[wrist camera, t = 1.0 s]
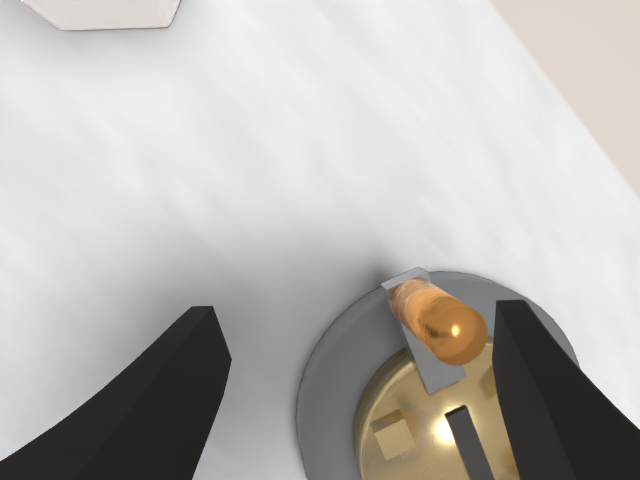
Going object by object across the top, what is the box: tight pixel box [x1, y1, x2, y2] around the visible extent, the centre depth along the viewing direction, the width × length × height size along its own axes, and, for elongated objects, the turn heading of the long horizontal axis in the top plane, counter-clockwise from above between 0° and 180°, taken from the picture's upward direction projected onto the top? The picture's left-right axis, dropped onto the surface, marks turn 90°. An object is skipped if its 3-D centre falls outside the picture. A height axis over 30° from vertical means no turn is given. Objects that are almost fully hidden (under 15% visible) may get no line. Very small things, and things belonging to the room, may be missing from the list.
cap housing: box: [296, 271, 580, 480], centre depth 25 cm, size 15×15×2 cm
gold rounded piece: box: [352, 267, 520, 480], centre depth 20 cm, size 14×10×7 cm
